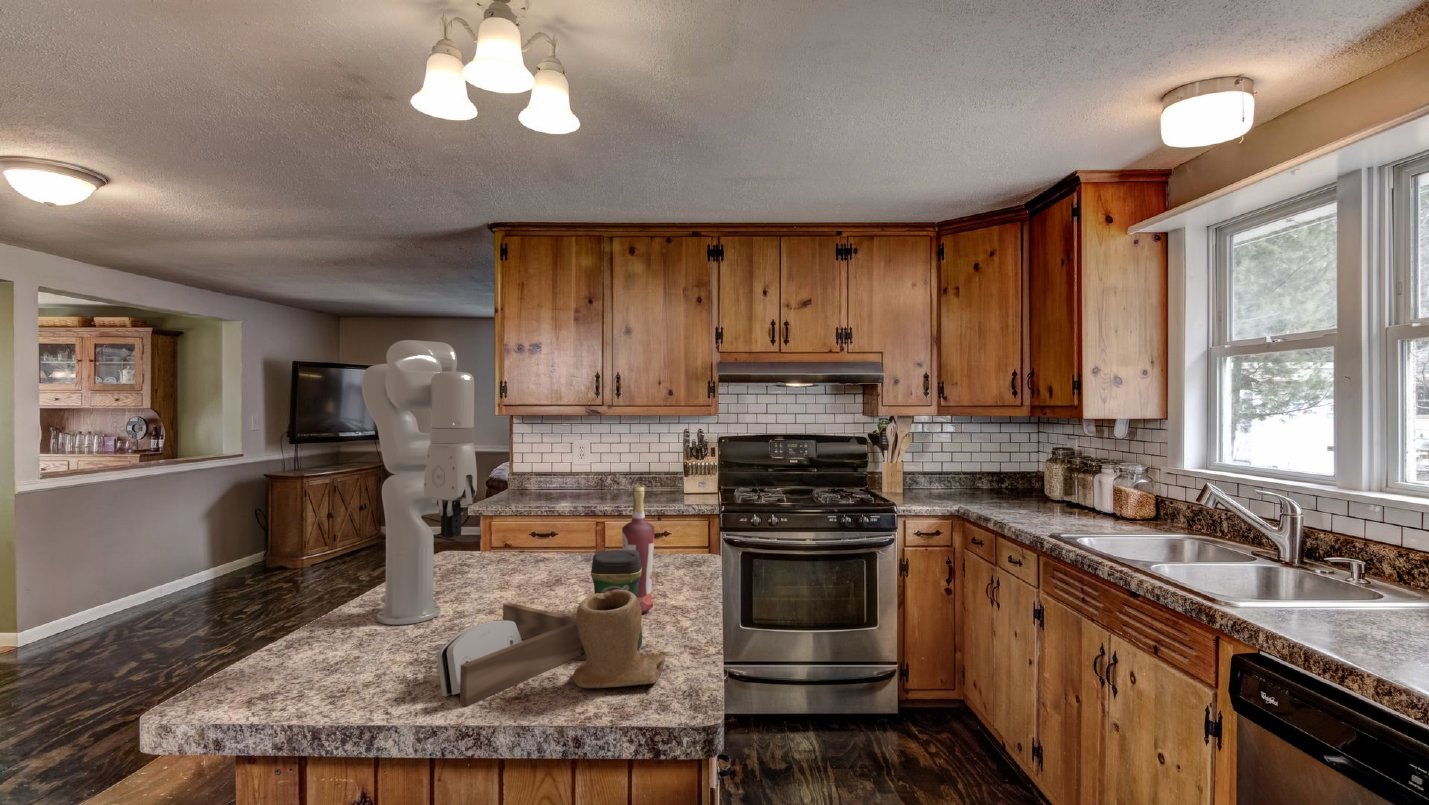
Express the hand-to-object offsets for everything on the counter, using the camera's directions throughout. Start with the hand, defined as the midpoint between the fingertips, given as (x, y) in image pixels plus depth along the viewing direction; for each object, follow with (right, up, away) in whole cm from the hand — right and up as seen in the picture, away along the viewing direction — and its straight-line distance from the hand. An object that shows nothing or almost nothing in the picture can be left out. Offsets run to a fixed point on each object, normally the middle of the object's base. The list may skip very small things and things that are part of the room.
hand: (451, 536), depth 119 cm
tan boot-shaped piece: (+33, -22, -13) cm, 42 cm away
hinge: (+10, -22, -11) cm, 27 cm away
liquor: (+32, -23, +25) cm, 47 cm away
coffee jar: (+30, -22, +3) cm, 38 cm away
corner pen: (+9, -22, -5) cm, 24 cm away
